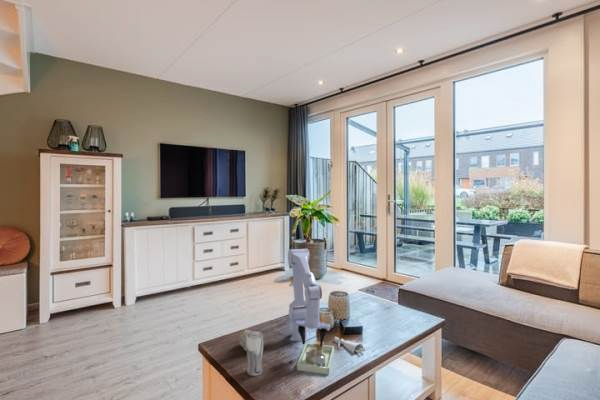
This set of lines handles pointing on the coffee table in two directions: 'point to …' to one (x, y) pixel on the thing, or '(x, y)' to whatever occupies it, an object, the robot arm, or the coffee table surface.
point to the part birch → (311, 355)
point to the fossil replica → (244, 338)
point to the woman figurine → (350, 345)
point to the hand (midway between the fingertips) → (312, 344)
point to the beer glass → (254, 352)
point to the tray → (304, 366)
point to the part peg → (320, 360)
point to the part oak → (318, 347)
